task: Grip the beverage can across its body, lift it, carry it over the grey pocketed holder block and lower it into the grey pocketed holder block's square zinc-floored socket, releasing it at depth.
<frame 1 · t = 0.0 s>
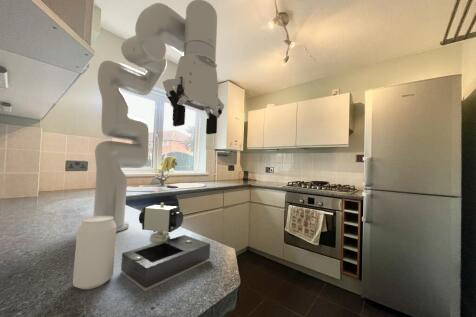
hand: (196, 129, 45), 31 cm above the countertop, fingers open, 9 cm apart
grey pocketed holder block: (168, 266, 44), on the countertop
pneumatic valve: (160, 245, 57), on the countertop
beverage can: (93, 283, 37), on the countertop
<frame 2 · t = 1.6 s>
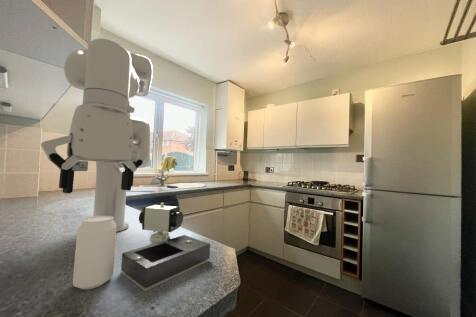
hand: (99, 191, 38), 17 cm above the countertop, fingers open, 9 cm apart
nothing on the countertop moved.
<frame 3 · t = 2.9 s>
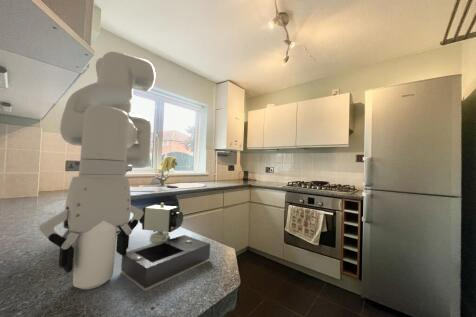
hand: (96, 260, 37), 4 cm above the countertop, fingers open, 8 cm apart
nothing on the countertop moved.
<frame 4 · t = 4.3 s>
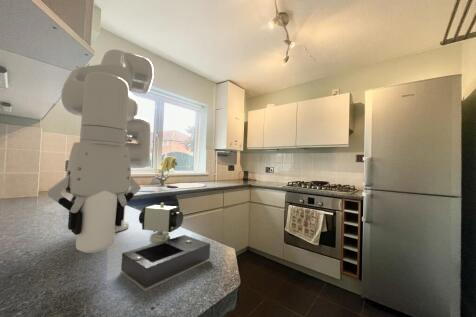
hand: (97, 227, 39), 10 cm above the countertop, fingers closed on beverage can, 6 cm apart
beverage can: (95, 248, 39), point 6 cm above the countertop, touching gripper
everything else where it was.
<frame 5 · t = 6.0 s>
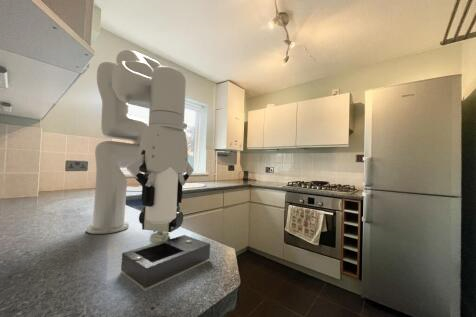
hand: (162, 203, 43), 14 cm above the countertop, fingers closed on beverage can, 6 cm apart
beverage can: (161, 222, 43), point 10 cm above the countertop, touching gripper
everything else where it was.
when the fingers open (5 cm above the countertop, at t = 8.2 s): beverage can stays where it is, resting on grey pocketed holder block.
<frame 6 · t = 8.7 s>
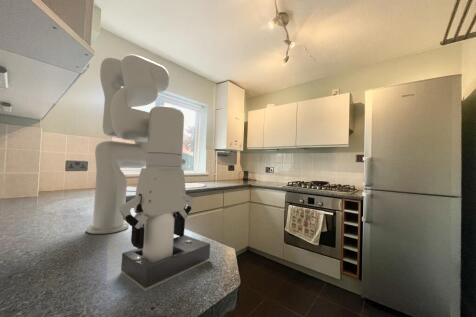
hand: (160, 240, 43), 6 cm above the countertop, fingers open, 9 cm apart
beverage can: (157, 267, 43), resting on grey pocketed holder block
everything else where it was.
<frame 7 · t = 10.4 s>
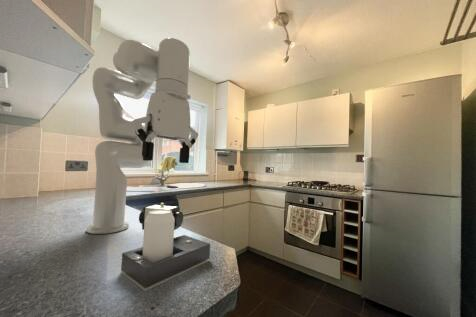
hand: (167, 161, 47), 24 cm above the countertop, fingers open, 9 cm apart
nothing on the countertop moved.
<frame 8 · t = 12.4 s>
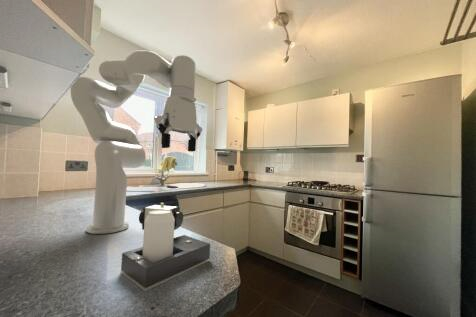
hand: (179, 149, 61), 28 cm above the countertop, fingers open, 9 cm apart
nothing on the countertop moved.
at the end: beverage can 0.6 cm from the target spot on the grey pocketed holder block, point 0.3 cm above the grey pocketed holder block's base; beverage can tilted 0°; beverage can touching grey pocketed holder block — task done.
